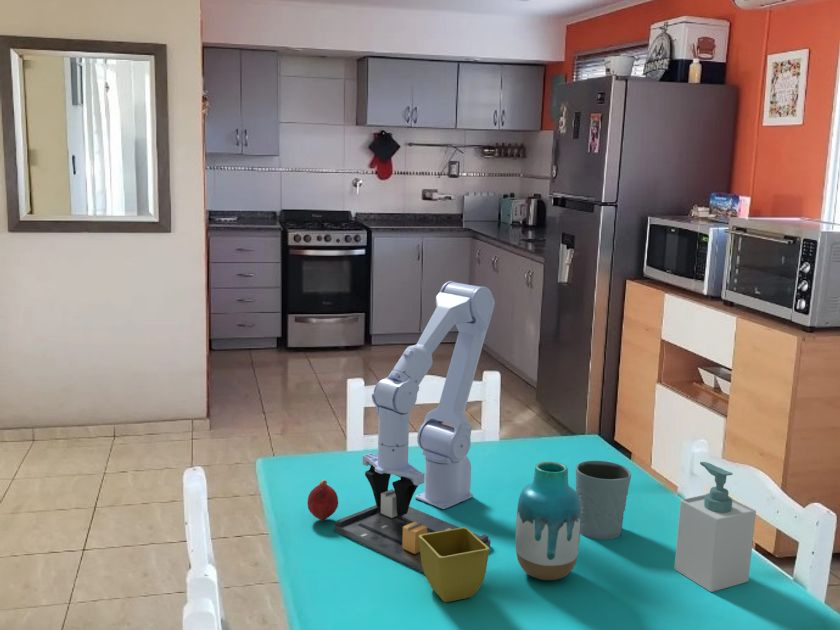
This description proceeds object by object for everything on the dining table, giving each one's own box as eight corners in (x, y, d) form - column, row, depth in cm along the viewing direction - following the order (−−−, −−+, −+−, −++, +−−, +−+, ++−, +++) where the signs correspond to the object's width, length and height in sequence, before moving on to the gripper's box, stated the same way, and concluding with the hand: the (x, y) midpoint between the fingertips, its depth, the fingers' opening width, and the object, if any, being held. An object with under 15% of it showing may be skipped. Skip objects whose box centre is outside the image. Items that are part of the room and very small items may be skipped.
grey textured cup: (561, 529, 164) (565, 468, 162) (590, 513, 172) (594, 455, 169) (608, 546, 158) (613, 484, 155) (636, 529, 165) (641, 469, 162)
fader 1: (391, 508, 168) (392, 487, 167) (403, 513, 166) (403, 491, 165) (380, 513, 166) (380, 491, 165) (391, 518, 164) (392, 496, 163)
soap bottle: (709, 559, 154) (720, 457, 150) (748, 582, 146) (760, 474, 142) (672, 569, 150) (682, 464, 146) (711, 592, 142) (722, 482, 138)
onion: (332, 528, 162) (333, 487, 160) (303, 524, 163) (303, 484, 161) (341, 515, 167) (342, 476, 166) (313, 512, 168) (313, 473, 167)
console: (395, 506, 172) (395, 496, 172) (490, 546, 156) (490, 535, 156) (334, 530, 161) (334, 520, 160) (430, 576, 145) (430, 565, 144)
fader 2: (414, 542, 154) (414, 519, 153) (426, 548, 152) (427, 525, 151) (402, 548, 152) (402, 524, 151) (414, 553, 150) (415, 530, 149)
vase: (562, 596, 140) (569, 484, 136) (502, 578, 145) (508, 469, 141) (586, 570, 148) (593, 464, 145) (529, 554, 154) (535, 451, 150)
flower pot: (416, 585, 142) (417, 533, 140) (464, 575, 145) (466, 525, 144) (438, 611, 134) (440, 557, 132) (488, 601, 138) (491, 548, 136)
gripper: (351, 437, 165) (350, 504, 168) (406, 457, 155) (404, 528, 158) (377, 428, 170) (376, 494, 173) (432, 447, 160) (430, 516, 163)
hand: (391, 509), depth 166 cm, fingers open, 5 cm apart
